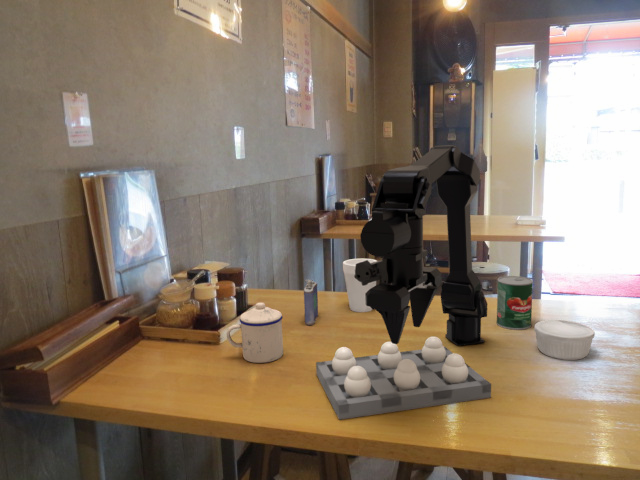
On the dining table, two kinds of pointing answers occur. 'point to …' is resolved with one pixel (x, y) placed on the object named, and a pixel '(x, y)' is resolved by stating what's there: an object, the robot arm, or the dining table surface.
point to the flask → (310, 302)
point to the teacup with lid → (260, 334)
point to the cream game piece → (406, 375)
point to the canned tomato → (514, 302)
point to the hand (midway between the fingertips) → (406, 334)
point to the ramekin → (563, 339)
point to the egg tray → (380, 389)
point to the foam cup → (356, 286)
